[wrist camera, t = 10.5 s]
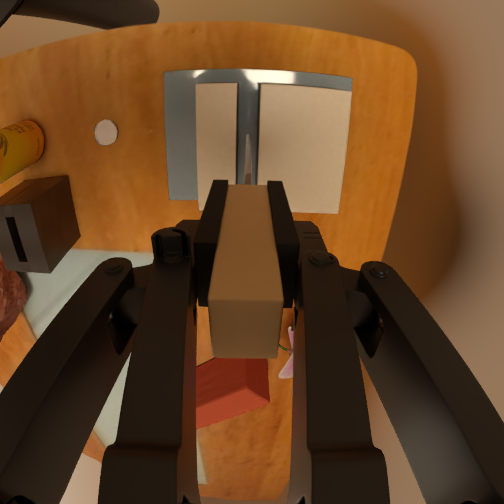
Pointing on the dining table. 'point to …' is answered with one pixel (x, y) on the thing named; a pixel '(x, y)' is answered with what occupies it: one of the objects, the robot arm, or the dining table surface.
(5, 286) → the rock
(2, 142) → the beer can
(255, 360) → the brick
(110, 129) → the white flat disc
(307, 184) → the beige rectangular block
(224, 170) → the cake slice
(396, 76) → the dining table surface
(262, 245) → the knife
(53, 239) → the knife block
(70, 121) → the dining table surface
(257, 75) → the platter
